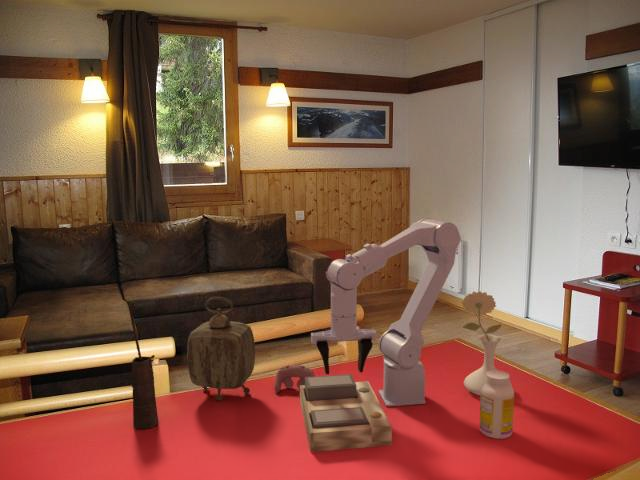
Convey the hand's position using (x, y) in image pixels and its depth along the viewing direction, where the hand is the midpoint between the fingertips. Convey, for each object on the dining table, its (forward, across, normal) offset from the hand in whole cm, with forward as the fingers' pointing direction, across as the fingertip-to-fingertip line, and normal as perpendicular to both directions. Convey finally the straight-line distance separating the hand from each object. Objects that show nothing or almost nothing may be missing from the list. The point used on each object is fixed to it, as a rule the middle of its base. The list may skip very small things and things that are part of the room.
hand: (343, 371), depth 123 cm
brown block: (+8, +3, +11) cm, 14 cm away
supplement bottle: (+10, -30, +14) cm, 34 cm away
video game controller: (+10, +10, -13) cm, 19 cm away
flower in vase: (+10, -36, -5) cm, 38 cm away
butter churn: (+10, +43, -1) cm, 44 cm away
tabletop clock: (+10, +28, -11) cm, 32 cm away
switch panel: (+9, +1, +5) cm, 11 cm away
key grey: (+6, +3, -1) cm, 7 cm away
